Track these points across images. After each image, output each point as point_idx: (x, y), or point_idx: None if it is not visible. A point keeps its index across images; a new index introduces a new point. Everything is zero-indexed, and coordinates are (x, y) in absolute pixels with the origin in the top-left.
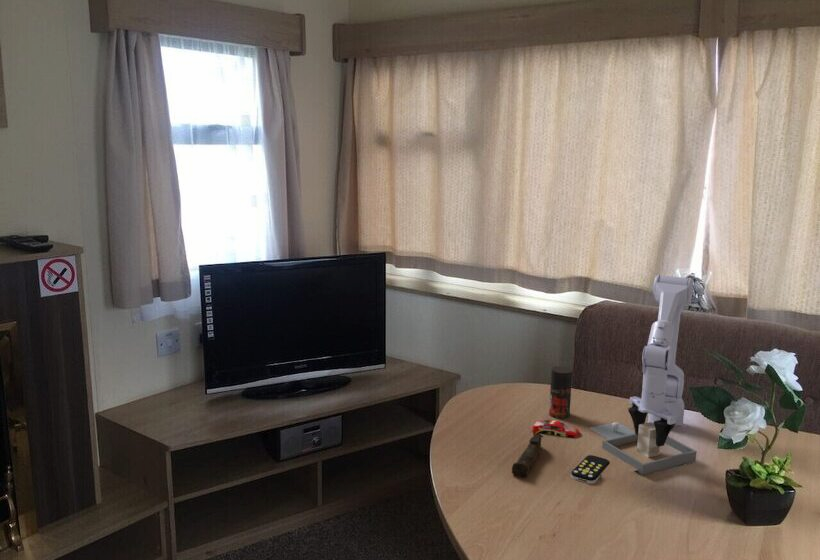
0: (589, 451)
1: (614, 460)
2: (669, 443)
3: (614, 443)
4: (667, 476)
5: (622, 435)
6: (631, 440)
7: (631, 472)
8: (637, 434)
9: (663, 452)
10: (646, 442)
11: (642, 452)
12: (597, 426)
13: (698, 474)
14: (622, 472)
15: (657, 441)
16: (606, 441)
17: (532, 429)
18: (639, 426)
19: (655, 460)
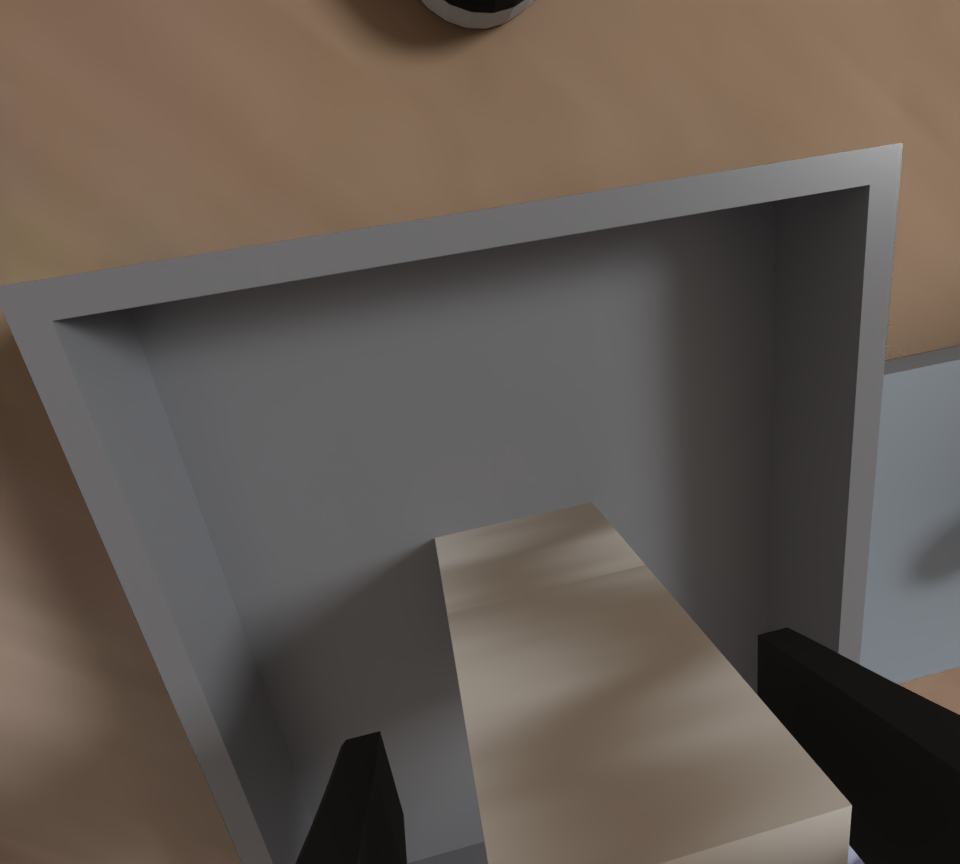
0: (842, 9)
1: (550, 186)
2: None
3: (812, 344)
4: (68, 556)
5: (920, 544)
6: (794, 567)
7: (217, 209)
8: (760, 644)
9: None
10: (508, 649)
11: (522, 540)
12: None
13: (87, 826)
14: (234, 86)
15: (328, 808)
16: (863, 198)
17: None
18: (807, 777)
19: (140, 548)
